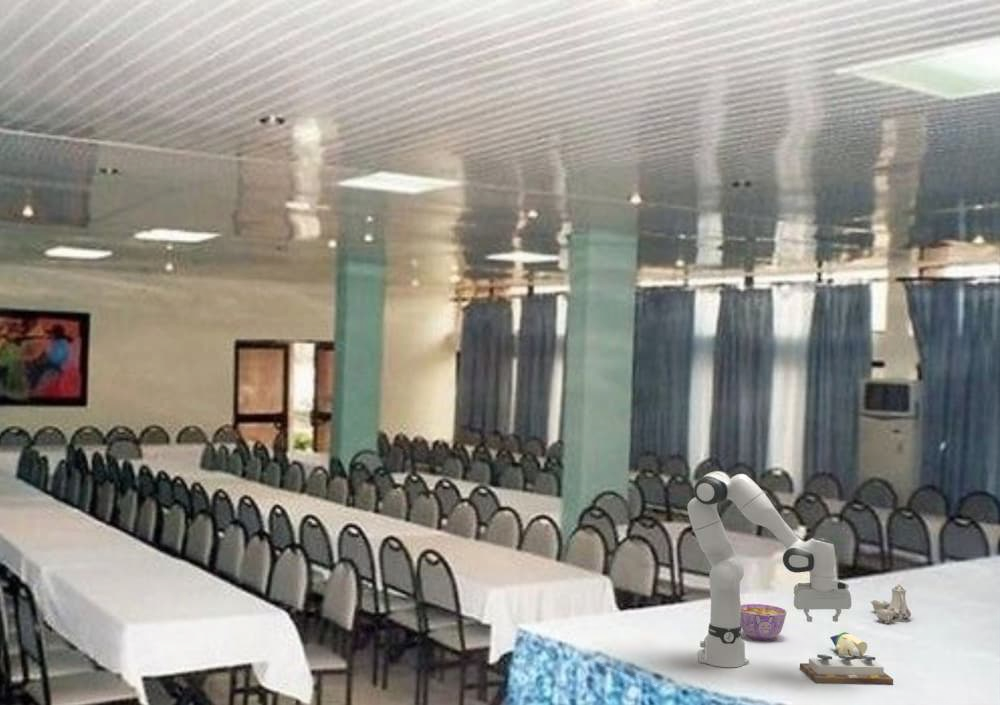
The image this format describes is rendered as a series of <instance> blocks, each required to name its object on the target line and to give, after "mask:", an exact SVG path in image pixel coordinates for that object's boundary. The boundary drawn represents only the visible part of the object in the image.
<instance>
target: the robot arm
mask: <svg viewBox="0 0 1000 705" xmlns="http://www.w3.org/2000/svg"><path fill="white" fill-rule="evenodd" d="M693 493H694V496H695V497H693V498H692V499H691V500H689V502H688V503H687V514H688V518H689V522H690V524H691V528H692V529H693V532H694V536H695V537H696V539H697V542H698V545H699V547H700V550H701V551H702V553H704V555H705V557H706V560H708V563H709V564H710V566H711V569H710V571H709V595H710V620H709V621H710V622H709V624H708V630H707V635H706V636H705V637H704V640H701V641H700V642H699V644H700V645H699V647H700V649H698V650H697V656H698V662H699V663H703V664H707V665H711V666H713V667H719V668H720V667H721V668H738V667H742V666H743V665H746V664H749V663H750V660H749V659H748V658H746V643H745V640H744V639H743V638H742V633H743V632H742V631H743V630H742V628H741V626H740V616H741V605H742V604H741V595H740V594H741V592H740V587H741V586H740V584H741V581H742V580H743V578H744V575H745V570H744V568H745V567H744V565H743V562H742V561H741V559H740V557H739V556H738V553H737V552H736V550H735V548H734V546H733V544H732V543H731V541H730V538H729V535H728V534H727V531H726V529H725V526H724V524H723V522H722V518H721V517H720V514H719V512H718V504H719V503H721V502H724V501H725V500H730V501H731V502H732V503H733V504H734V505H735V507H736V508H738V510H739V511H740V513H741V514H742V515H743V516H744V517H745V518H746V519H747V520H748V521H749V522H751V523H752V524H753V525H755V526H756V525H757V526H761V527H764V528H766V529H767V530H769V531H770V532H771V533H772V534H773V535H774V536H775V537H776V538H777V540H778V541H779V542H780V543H781V544H782V545H783V546H784V548H785V549H786V550H785V552H784V553H783V555H782V563H783V566H784V567H785V568H786V569H787V570H788V571H789V572H792V573H796V574H797V573H806V572H809V582H804V583H803V582H799V583H797V584H795V585H794V586H793V594H794V597H793V607H794V608H795V609H797V610H803V613H804V615H805V616H806V622H807V623H811V622H812V623H813V616H812V615H810V614H809V613H810V610H835V612H836V613H834V615H832V622H835V623H837V622H839V617H840V616H841V614H842V610H850V609H851V607H852V595H851V592H850V591H849V583H848V582H846V581H844V580H842V579H839V578H836V573H835V565H836V552H835V545H834V542H832V541H831V540H830V539H828V538H825V537H821V536H819V537H818V536H813V537H812V538H810V539H808V540H805V539H803V538H801V537H800V536H799V535H798V534H797V533H796V532H795V531H794V530H793V528H792V527H791V526H790V525H789V524H788V523H787V522H786V521H785V519H784V518H783V517H782V516H781V514H779V512H778V511H777V509H776V507H775V506H774V505H773V503H772V501H771V500H770V499H769V497H768V496H767V494H765V492H764V491H763V489H761V487H760V486H759V485H758V484H757V483H756V482H755V481H754V480H753V479H752V478H750V477H749V476H748V475H747V474H745V473H739V474H735V475H734V476H731V475H730V474H729V472H727V471H723V470H713V471H711V472H708V473H706V474H705V475H704V476H702V477H700V478H699V479H698V480H697V481H696V482H695V485H694V488H693ZM701 648H702V649H701Z"/></svg>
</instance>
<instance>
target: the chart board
mask: <svg viewBox="0 0 1000 705" xmlns="http://www.w3.org/2000/svg"><path fill="white" fill-rule="evenodd" d="M799 669H800V670H801V671H802V672H803V673H804V674H805V675H806V676H807V677H808V678H810V680H812V681H813V682H814V683H815V684H832V685H833V684H835V685H837V684H839V685H842V684H843V685H886V686H887V685H891V686H892V685H894V678H892V677H891V676H890V675H889V674H887V673H886V672H884V671H883V676H878V675H833V674H825V675H820V674H817V673H816V672H814V671H813V670H812V669H811V668H810V667H809V662H807V663H805V662H800V663H799Z"/></svg>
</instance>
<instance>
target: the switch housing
mask: <svg viewBox="0 0 1000 705" xmlns="http://www.w3.org/2000/svg"><path fill="white" fill-rule="evenodd" d="M808 663H809V667H810V668H811V669H812V670H813V671H814V672H816V673H817V674H820V675H825V674H833V675H878V676H883V672H884V666H882V665H881V664H880V663H878V662H877V661H876V660H865V659H862V658H860V659H859V658H854V660H845V659H842V658H832V659H821V658H818V657H817V658H814V657H813V658H811V657H809V658H808Z"/></svg>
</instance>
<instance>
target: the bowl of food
mask: <svg viewBox="0 0 1000 705" xmlns="http://www.w3.org/2000/svg"><path fill="white" fill-rule="evenodd" d="M786 616H787V610H786V609H784V608H782V607H780V606H775V605H769V604H763V603H761V604H760V603H746V604H744V603H743V604H741V616H740V626H741V630H742V631H743V633H744V634H746V635H747V636H749V637H750V638H751V639H753V640H757V641H758V640H759V641H769V640H771V639H773V638H775V637H777V636H778V635H779V634H780V633H781V632H782V629H783V627H784V624H785V620H786Z"/></svg>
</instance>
